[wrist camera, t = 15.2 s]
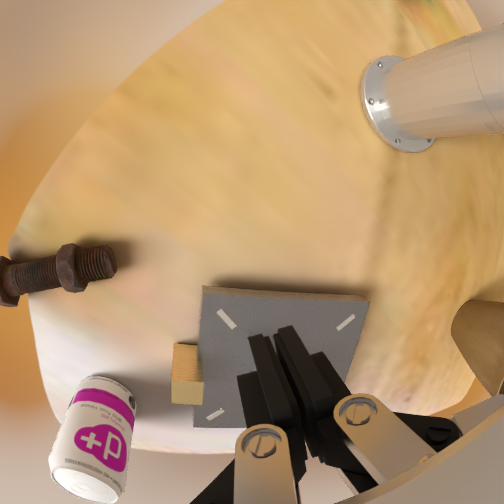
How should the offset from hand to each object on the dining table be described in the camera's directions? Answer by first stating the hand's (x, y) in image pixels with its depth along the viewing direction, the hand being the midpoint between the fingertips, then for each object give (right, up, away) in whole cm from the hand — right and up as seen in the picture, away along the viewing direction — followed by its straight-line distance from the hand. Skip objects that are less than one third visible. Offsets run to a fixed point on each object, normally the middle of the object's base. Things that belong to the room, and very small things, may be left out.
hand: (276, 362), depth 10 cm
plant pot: (+36, -8, +30) cm, 47 cm away
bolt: (-22, +2, +17) cm, 28 cm away
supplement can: (-20, -15, +21) cm, 32 cm away
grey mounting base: (0, -8, +23) cm, 24 cm away
